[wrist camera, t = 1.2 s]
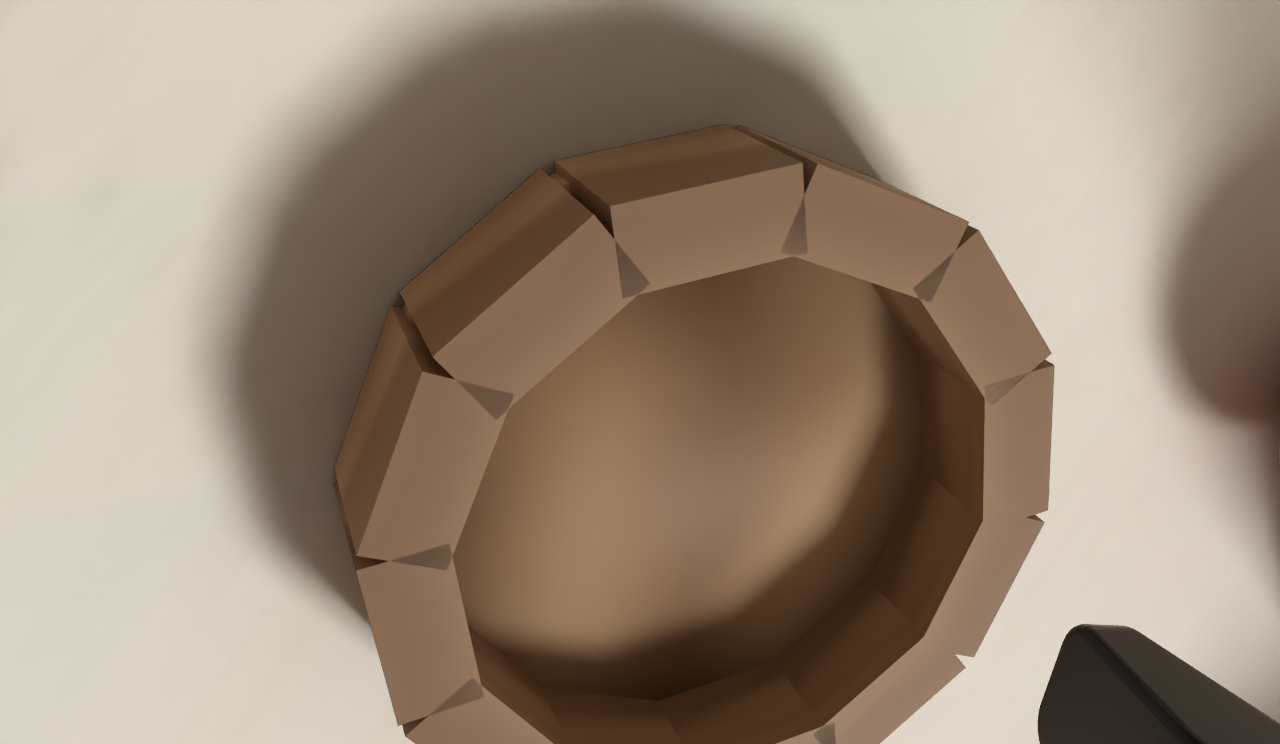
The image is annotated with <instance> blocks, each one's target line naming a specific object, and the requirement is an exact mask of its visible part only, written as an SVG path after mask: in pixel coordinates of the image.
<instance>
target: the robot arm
mask: <svg viewBox="0 0 1280 744" xmlns="http://www.w3.org/2000/svg"><path fill="white" fill-rule="evenodd" d="M1038 735H1039V741H1040V744H1280V724H1279V723H1278V722H1276V721H1275V720H1273V719H1271V718H1270V717H1268V716H1267V715H1265V714H1264V713H1262V712H1261V711H1259V710H1258V709H1256V708H1255V707H1253V706H1252V705H1250V704H1248V703H1247V702H1245V701H1244V700H1242V699H1241V698H1239V697H1238V696H1236V695H1235V694H1233V693H1232V692H1230V691H1229V690H1227V689H1225V688H1224V687H1222V686H1221V685H1219V684H1218V683H1216V682H1215V681H1213V680H1212V679H1210V678H1209V677H1207V676H1206V675H1204V674H1202V673H1201V672H1199V671H1198V670H1196V669H1195V668H1193V667H1192V666H1190V665H1189V664H1187V663H1186V662H1184V661H1183V660H1181V659H1180V658H1178V657H1176V656H1175V655H1173V654H1172V653H1170V652H1169V651H1167V650H1166V649H1164V648H1163V647H1161V646H1160V645H1158V644H1157V643H1155V642H1153V641H1152V640H1150V639H1149V638H1147V637H1146V636H1144V635H1143V634H1141V633H1140V632H1138V631H1136V630H1135V629H1133V628H1130V627H1126V626H1118V625H1093V624H1081V625H1078V626H1076V627H1074V628H1072V629H1071V630H1070V631H1069V632H1068V634H1067V635H1066V637H1065V639H1064V641H1063V643H1062V646H1061V649H1060V652H1059V655H1058V657H1057V660H1056V663H1055V666H1054V669H1053V671H1052V674H1051V677H1050V680H1049V683H1048V685H1047V688H1046V691H1045V694H1044V697H1043V700H1042V702H1041V705H1040V709H1039V715H1038Z"/></svg>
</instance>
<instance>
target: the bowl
mask: <svg viewBox="0 0 1280 744" xmlns="http://www.w3.org/2000/svg"><path fill="white" fill-rule="evenodd" d="M554 163H555V169H556V173H554V174H551V175H550V176H549V175H548V174H546V173H545V172H544V171H543V170H542V169H541V168H540V169H538V170H537V171H536V172H535V173H534V174H533V175H532V176H530V177H529V178H528V179H527V180H526V181H525V182H524V183H523V184H521V185H520V186H519V187H518V188H517V189H516V190H515V191H513V192H512V193H511V194H510V195H509V196H508V197H507V198H505V199H504V200H503V201H502V202H501V203H500V204H499V205H498V206H496V207H495V208H494V209H493V210H492V211H491V212H490V213H488V214H487V215H486V216H485V217H484V218H483V219H482V220H480V221H479V222H478V223H477V224H476V225H475V226H474V227H473V228H471V229H470V230H469V231H468V232H467V233H466V234H465V235H463V236H462V237H461V238H460V239H459V240H458V241H457V242H455V243H454V244H453V245H452V246H451V247H450V248H449V249H448V250H446V251H445V252H444V253H443V254H442V255H441V256H440V257H438V258H437V259H436V260H435V261H434V262H433V263H432V264H430V265H429V266H428V267H427V268H426V269H425V270H424V271H423V272H421V273H420V274H419V275H418V276H417V277H416V278H415V279H413V280H412V281H411V282H410V283H409V284H408V285H407V286H405V287H404V288H403V289H402V290H401V291H400V294H401V296H402V298H403V300H404V302H405V304H404V305H403V307H402V308H400V307H396V306H392V305H390V308H389V311H388V314H387V317H386V319H385V322H384V325H383V328H382V331H381V334H380V337H379V340H378V343H377V346H376V349H375V351H374V354H373V357H372V360H371V363H370V366H369V369H368V372H367V375H366V378H365V381H364V383H363V386H362V389H361V392H360V395H359V398H358V401H357V404H356V407H355V410H354V413H353V415H352V418H351V421H350V424H349V427H348V430H347V433H346V436H345V439H344V442H343V445H342V447H341V450H340V453H339V456H338V459H337V462H336V465H335V468H334V470H335V474H336V478H337V482H334V486H335V490H336V494H337V498H338V502H339V506H340V510H341V514H342V518H343V522H344V526H345V530H346V534H347V538H348V542H349V546H350V550H351V554H352V558H353V561H354V565H355V569H356V573H357V577H358V581H359V584H360V588H361V592H362V595H363V599H364V603H365V606H366V610H367V614H368V617H369V621H370V625H371V628H372V632H373V636H374V639H375V643H376V647H377V650H378V654H379V658H380V661H381V665H382V669H383V672H384V676H385V680H386V683H387V687H388V691H389V694H390V698H391V702H392V705H393V709H394V713H395V716H396V720H397V724H398V726H399V725H403V729H404V733H405V736H406V737H407V738H408V739H410V740H411V741H412V742H414V743H415V744H880V743H881V742H882V741H883V740H884V739H885V738H887V737H888V736H889V735H890V734H891V733H892V732H893V731H894V730H896V729H897V728H898V727H899V726H900V725H901V724H902V723H904V722H905V721H906V720H907V719H908V718H909V717H910V716H911V715H913V714H914V713H915V712H916V711H917V710H918V709H919V708H920V707H922V706H923V705H924V704H925V703H926V702H927V701H928V700H930V699H931V698H932V697H933V696H934V695H935V694H936V693H937V692H939V691H940V690H941V689H942V688H943V687H944V686H945V685H946V684H948V683H949V682H950V681H951V680H952V679H953V678H954V677H956V676H957V675H958V674H959V673H960V672H961V671H962V670H963V669H965V668H966V667H965V666H964V665H963V664H962V662H961V661H960V660H959V659H958V658H957V656H956V655H955V654H958V655H964V656H970V657H974V656H975V654H976V652H977V650H978V648H979V646H980V645H981V643H982V641H983V639H984V637H985V635H986V633H987V631H988V629H989V627H990V625H991V624H992V622H993V620H994V618H995V616H996V614H997V612H998V610H999V608H1000V606H1001V604H1002V603H1003V601H1004V599H1005V597H1006V595H1007V593H1008V591H1009V589H1010V587H1011V585H1012V583H1013V582H1014V580H1015V578H1016V576H1017V574H1018V572H1019V570H1020V568H1021V566H1022V564H1023V562H1024V561H1025V559H1026V557H1027V555H1028V553H1029V551H1030V549H1031V547H1032V545H1033V543H1034V541H1035V540H1036V538H1037V536H1038V534H1039V532H1040V530H1041V528H1042V526H1043V524H1044V521H1042V520H1041V519H1040V518H1038V517H1037V516H1036V515H1035V514H1038V513H1041V512H1044V511H1047V510H1048V500H1049V477H1050V454H1051V431H1052V408H1053V386H1054V365H1053V364H1052V363H1050V362H1048V361H1046V360H1045V359H1046V358H1047V357H1048V356H1049V355H1050V354H1052V353H1051V351H1050V350H1049V348H1048V346H1047V344H1046V343H1045V341H1044V339H1043V338H1042V336H1041V334H1040V333H1039V331H1038V329H1037V328H1036V326H1035V324H1034V323H1033V321H1032V319H1031V317H1030V316H1029V314H1028V312H1027V311H1026V309H1025V307H1024V306H1023V304H1022V302H1021V301H1020V299H1019V297H1018V296H1017V294H1016V292H1015V290H1014V289H1013V287H1012V285H1011V284H1010V282H1009V280H1008V279H1007V277H1006V275H1005V274H1004V272H1003V270H1002V269H1001V267H1000V265H999V263H998V262H997V260H996V258H995V257H994V255H993V253H992V252H991V250H990V248H989V247H988V245H987V243H986V242H985V240H984V238H983V236H982V235H981V233H980V231H979V230H977V229H975V228H973V227H971V226H969V225H968V223H969V222H968V221H966V220H964V219H962V218H960V217H957V216H955V215H953V214H951V213H949V212H947V211H945V210H942V209H940V208H938V207H936V206H934V205H932V204H929V203H927V202H925V201H923V200H921V199H919V198H917V197H914V196H912V195H910V194H908V193H906V192H904V191H901V190H899V189H897V188H895V187H893V186H891V185H889V184H886V183H884V182H882V181H880V180H878V179H875V178H873V177H870V176H868V175H865V174H862V173H860V172H857V171H855V170H852V169H850V168H847V167H844V166H842V165H839V164H837V163H834V162H832V161H829V160H826V159H824V158H821V157H819V156H816V155H814V154H811V153H808V152H806V151H803V150H801V149H798V148H796V147H793V146H791V145H788V144H785V143H783V142H780V141H778V140H775V139H773V138H770V137H767V136H765V135H762V134H760V133H757V132H755V131H752V130H749V129H747V128H744V127H742V126H739V127H738V129H737V130H735V129H733V128H731V127H729V126H727V125H720V126H716V127H711V128H706V129H702V130H697V131H692V132H688V133H683V134H678V135H673V136H669V137H664V138H659V139H655V140H650V141H645V142H641V143H636V144H631V145H626V146H622V147H617V148H612V149H608V150H603V151H598V152H594V153H589V154H584V155H580V156H575V157H570V158H565V159H561V160H556V161H554Z"/></svg>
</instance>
